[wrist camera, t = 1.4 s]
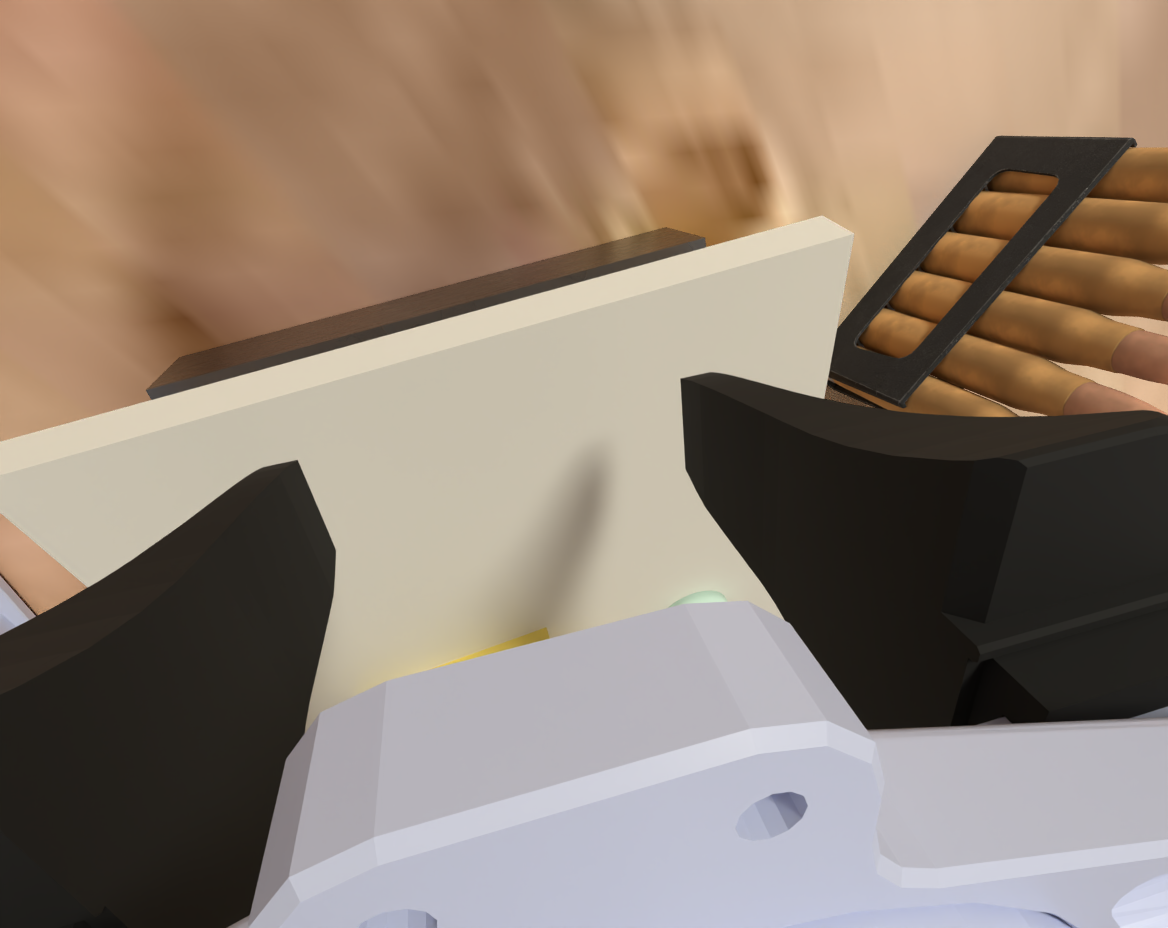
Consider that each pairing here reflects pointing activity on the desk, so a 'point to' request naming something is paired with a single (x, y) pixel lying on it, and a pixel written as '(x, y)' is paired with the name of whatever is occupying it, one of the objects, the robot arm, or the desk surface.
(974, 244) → the ammunition clip
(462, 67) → the desk surface
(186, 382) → the leveling base
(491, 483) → the plate
